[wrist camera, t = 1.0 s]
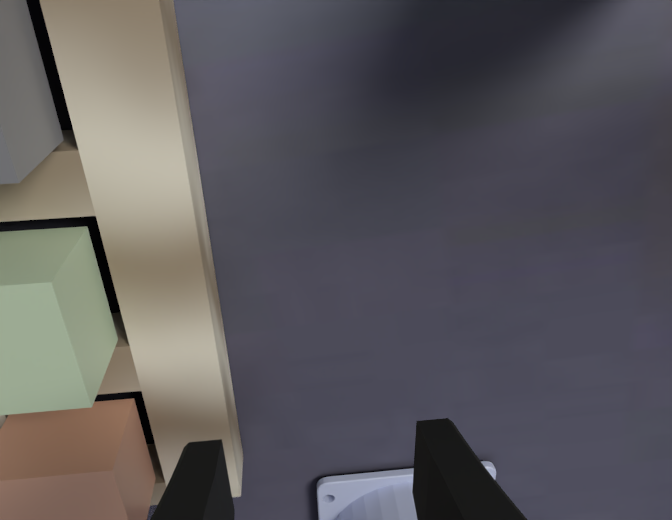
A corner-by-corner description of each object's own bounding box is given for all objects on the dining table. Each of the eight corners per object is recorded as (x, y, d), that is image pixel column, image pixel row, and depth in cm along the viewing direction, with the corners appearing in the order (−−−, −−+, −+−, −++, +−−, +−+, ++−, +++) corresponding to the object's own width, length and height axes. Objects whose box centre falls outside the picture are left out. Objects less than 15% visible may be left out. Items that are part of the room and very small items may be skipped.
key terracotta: (155, 478, 21) (139, 553, 19) (45, 488, 21) (13, 567, 18) (133, 398, 19) (112, 470, 17) (11, 408, 19) (-30, 484, 16)
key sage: (117, 339, 18) (91, 407, 15) (-14, 349, 18) (-63, 420, 15) (87, 226, 16) (51, 282, 13) (-62, 235, 16) (-128, 295, 13)
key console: (243, 456, 24) (240, 496, 22) (-4, 479, 23) (-26, 523, 21) (156, -110, 14) (140, -116, 12) (-281, -100, 13) (-364, -106, 11)
